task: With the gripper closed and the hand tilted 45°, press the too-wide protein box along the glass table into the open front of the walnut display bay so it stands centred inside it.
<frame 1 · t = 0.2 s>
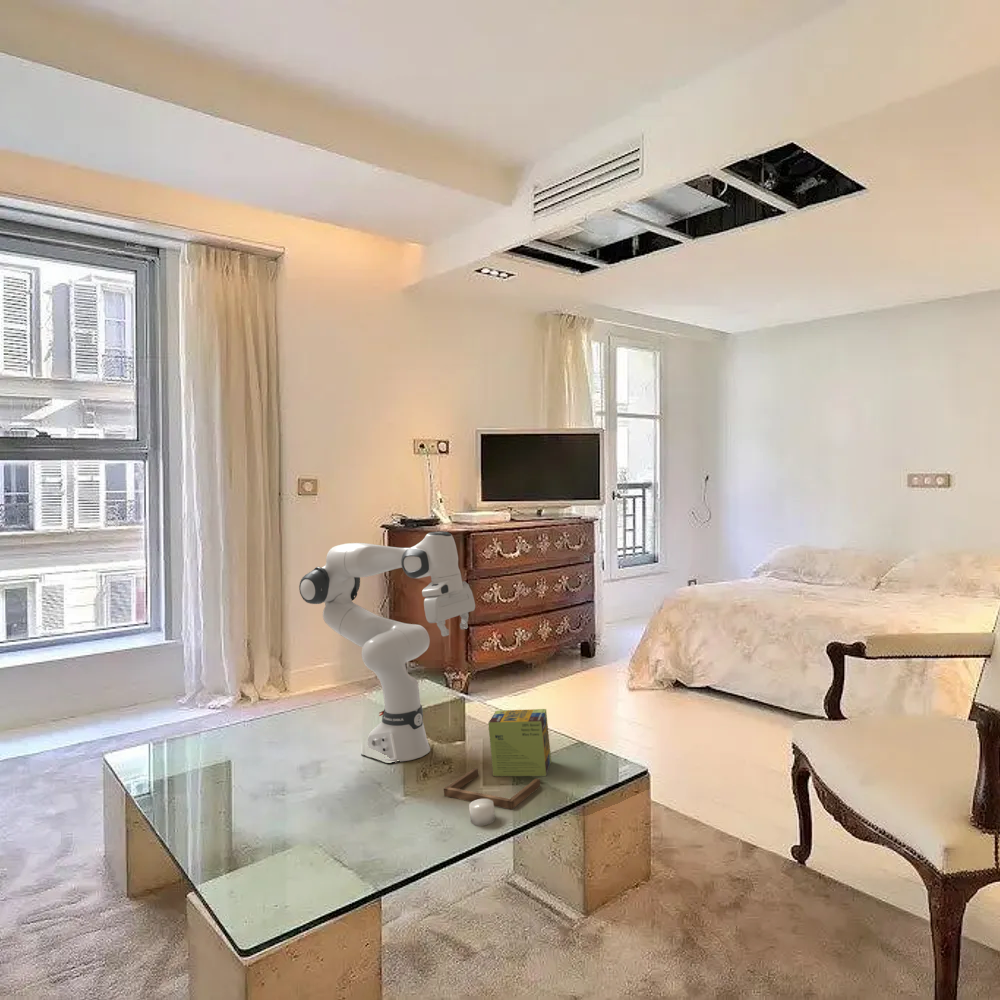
hand: (455, 632, 216), 39 cm above the table, tool pointing down, fingers open, 8 cm apart
white rounded block: (482, 820, 180), on the table
display bay: (493, 790, 196), on the table
protein box: (522, 769, 209), on the table
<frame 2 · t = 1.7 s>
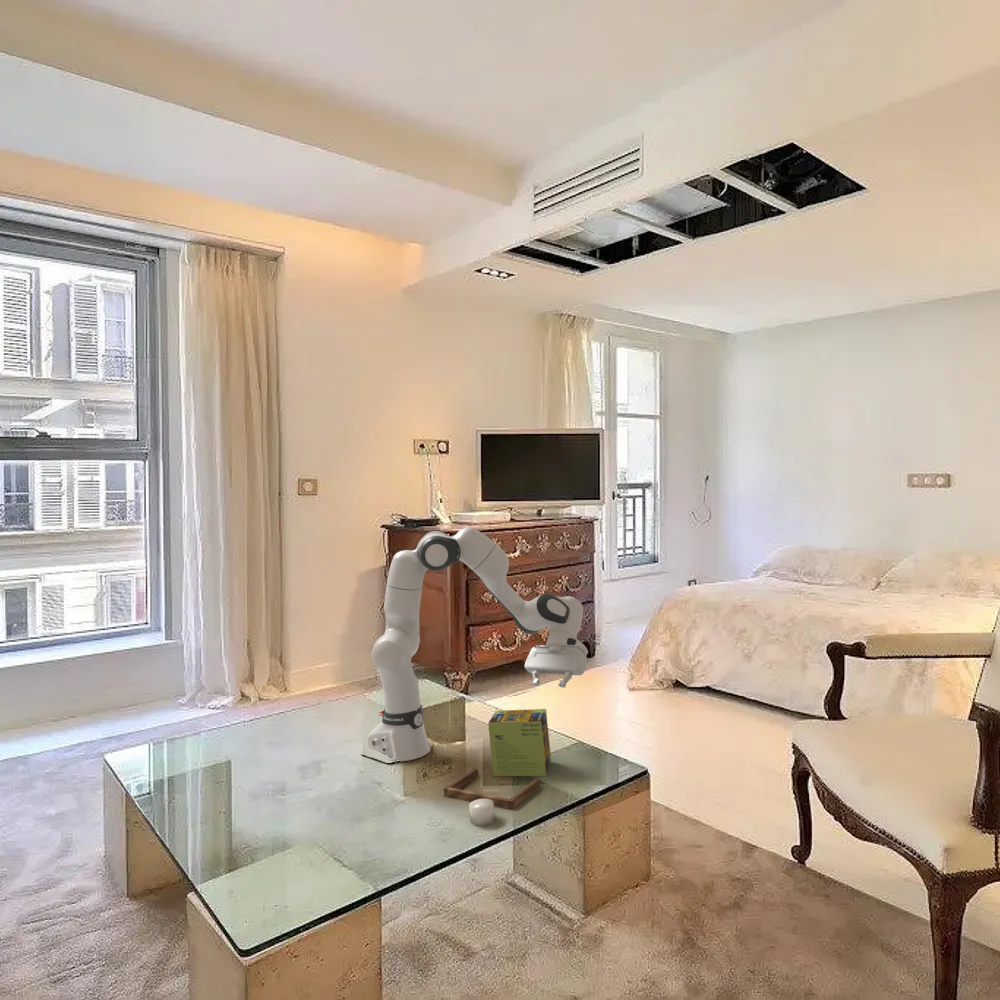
hand: (548, 685, 222), 19 cm above the table, tool tilted 45°, fingers open, 8 cm apart
nothing on the table moved.
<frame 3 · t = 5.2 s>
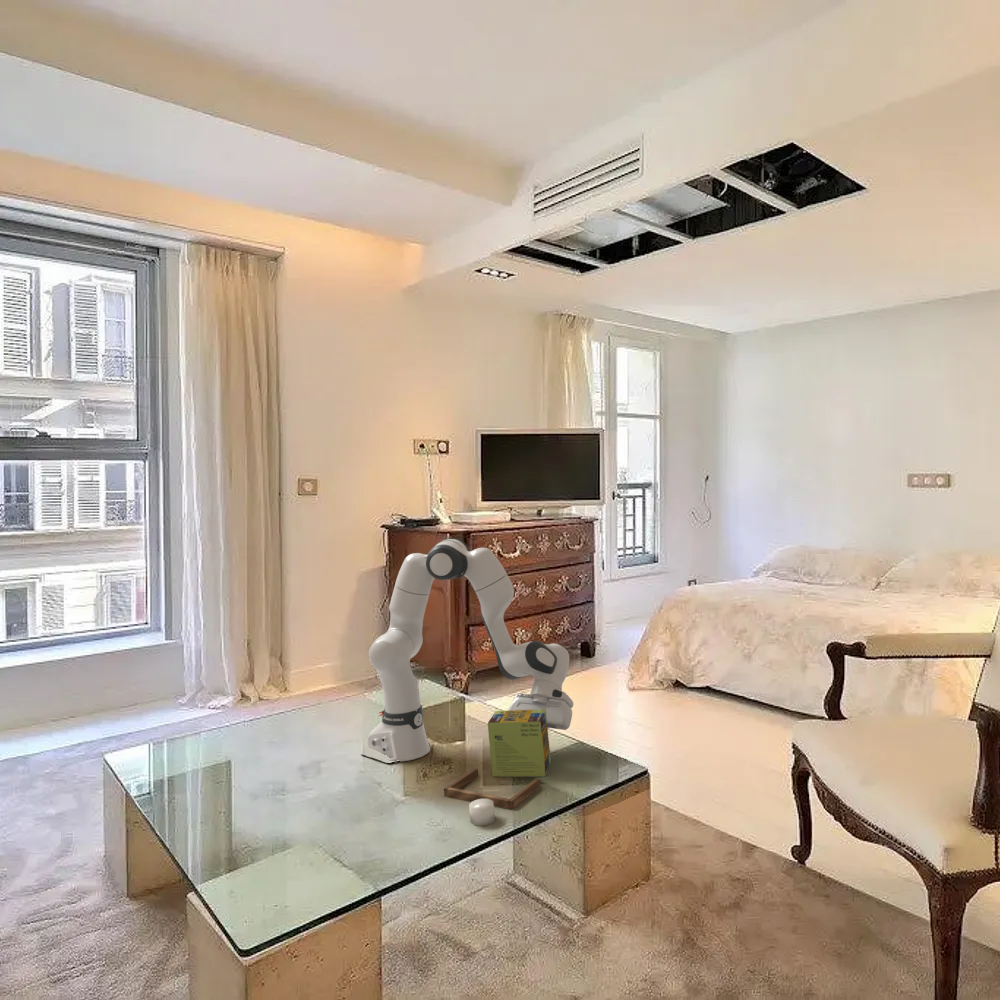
hand: (531, 739, 214), 6 cm above the table, tool tilted 45°, fingers closed
protein box: (522, 770, 209), on the table, touching gripper
everything else where it was.
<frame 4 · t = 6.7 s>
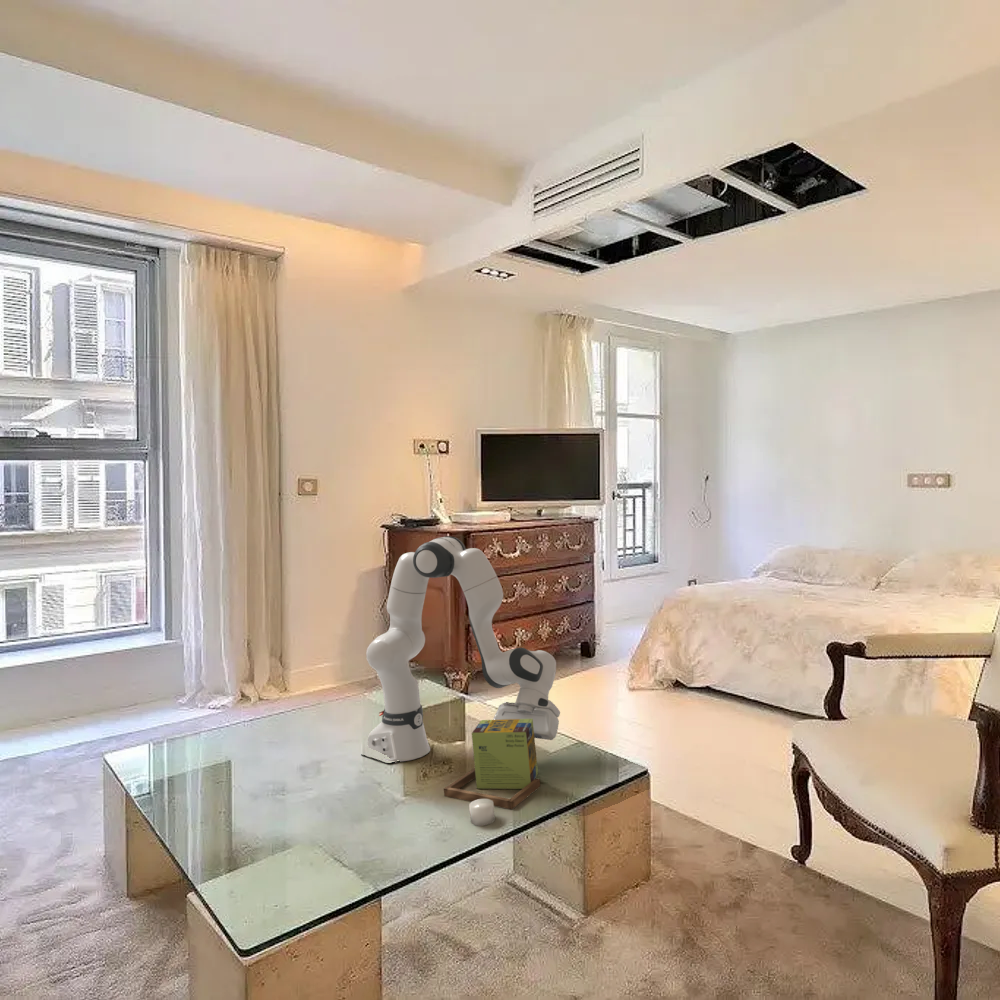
hand: (516, 749, 207), 6 cm above the table, tool tilted 45°, fingers closed
protein box: (508, 781, 201), on the table, touching gripper
everything else where it was.
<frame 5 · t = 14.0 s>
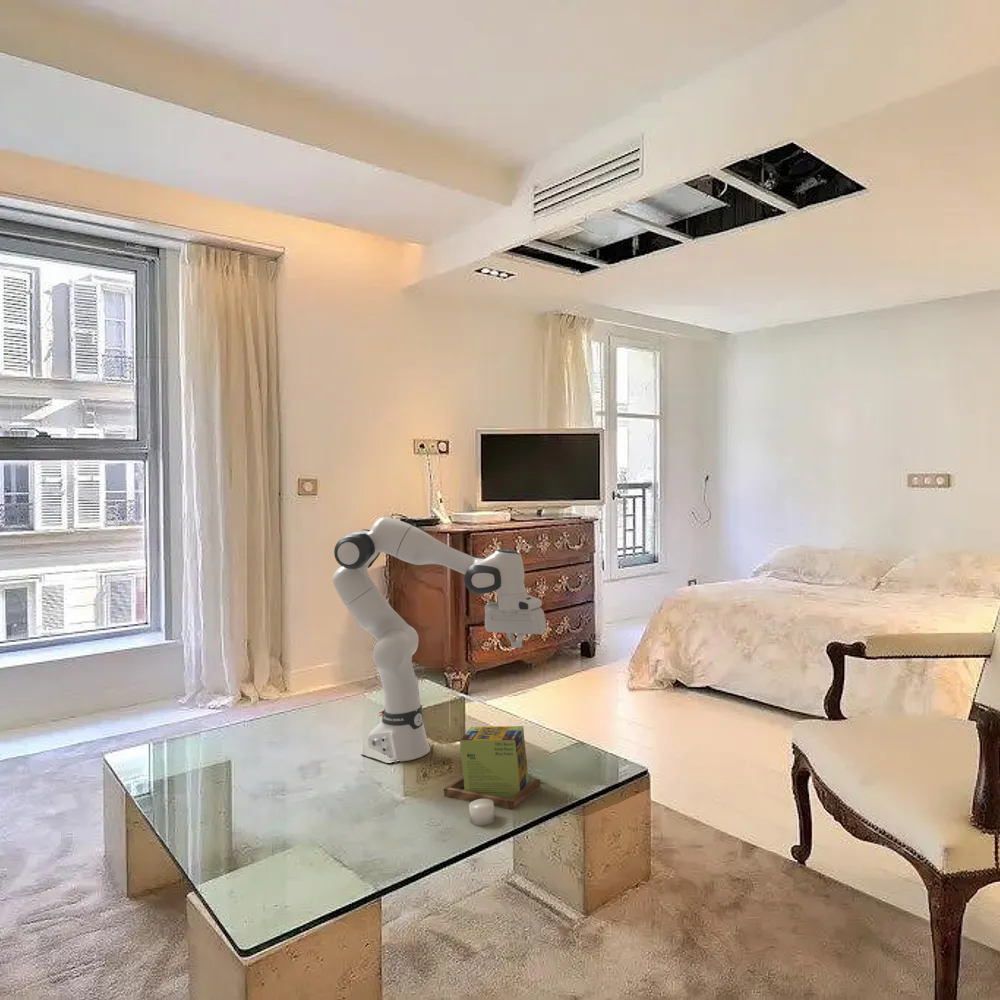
hand: (516, 647, 223), 31 cm above the table, tool pointing down, fingers closed
protein box: (497, 790, 197), on the table
everything else where it was.
at the end: protein box inside the target area on the display bay (2.0 cm from its centre), point 0.0 cm above the display bay's base; protein box tilted 0°; protein box moved 14.2 cm from its start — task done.
